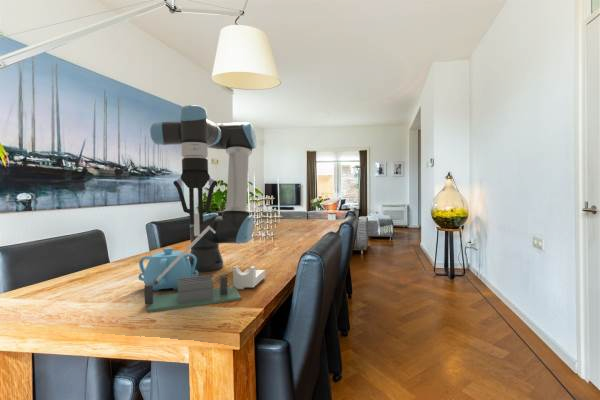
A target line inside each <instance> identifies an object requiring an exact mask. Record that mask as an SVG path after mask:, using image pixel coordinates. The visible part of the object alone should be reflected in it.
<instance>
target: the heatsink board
mask: <svg viewBox="0 0 600 400" xmlns="http://www.w3.org/2000/svg"><path fill="white" fill-rule="evenodd" d="M153 290H154V289H153V283H144V305H148V306H147V313H154V312H160V311H169V310H177V309H182V308H183V309H184V308H191V307H197V306H199V307H200V306H206V305H213V304H219V303H226V302H233V301H241V300H242V296H241V294H240V292H239V291H238V289H236V287H235V286H234V285H232V286H228V276H227V275H226V274H222V275H219V287H217V288H214V280H213V277H212V275H211V274H206V275H198V276H197V277H187V278H178V289H177V292H176V293H174V292H173V293H168V294H161V295H154V291H153Z"/></svg>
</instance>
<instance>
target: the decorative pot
mask: <svg viewBox="0 0 600 400" xmlns="http://www.w3.org/2000/svg"><path fill="white" fill-rule="evenodd" d="M183 251H184V250H183ZM183 251H182V250H181V251H180V250H174V248H173V247H165V248H163V249H162V251H160V252H159V251H158V252H156V253H153V254H152V255H144V256H143V257H141V258H140V259H139V262H138V263H139V264H138V265H139V266H138V267H139V269H140V271H141V272H140V273H138V274H139V275H138V279H139V280H140V281H142V282H143V283H144V284H145V283H153V282H154V279H155V278H157V277H158V276H159V275H160V274H161V273H162V272H163V271H164V270H165V269H166V268H167V267H168V266H169V265H170V264H171V263H172V262H173V261H174V260H175V259H176V258H177V257H178V256H179V255H180V254H181V253H182V252H183ZM189 257H192V258H193V259H194V263H193V266H192V268H191V264H190V261H189ZM146 259H148V262H147V265H146V267H144V260H146ZM196 263H197V258H196V256H195V255H193V254H190V253H186V254H185V255H184V256H183V257H182V258H181V259H180V260H179V261H178V262H177V263H176V264H175V265H174V266H173V267H172V268H171V269H170V270H169V271H168V272H167V273H166V274H165V275H164V276H163V277H162V278H161V279H160V280H159V281H158V283H157V284H154V283H153V292H159V291H162V289H163V290H166V289H168V290H169V289H172V290H177V291H178V278H187V277H197V276H199V272H198V271H197V270H194V269H195V266H196ZM194 273H195V274H194ZM142 276H143V277H142Z"/></svg>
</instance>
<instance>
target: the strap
mask: <svg viewBox="0 0 600 400" xmlns="http://www.w3.org/2000/svg"><path fill="white" fill-rule="evenodd" d="M209 229H210V230H211V231H212V232H213V233H214V234H215V233H216V232H215V231H214V230H213V229H212V228H211V227H210V226H208V227H207V228H206V229H205V230H204V231H203V232H202V233H201V234H200V236H198V237H197V238H196V239H195V240H194V241H193V242H192V243H191V242H190V244H189V245H188V246H187V247H186V248H185V249H184V250H183V252H182V253H181V254H180V255H179V256H178V257H177V258H176V259H175V260H174V261H173V262H172V263H171V264H170V265H169V266H168V267H167V268H166V269H165V270H164V271H163V272H162V273H161V274H160V275H159V276H158V277H157V278H155V279H154V282H153V283H154V284H157V283H158V281H159V280H160V279H161V278H162V277H163V276H164V275H165V274H166V273H167V272H168V271H169V270H170V269H171V268H172V267H173V266H174V265H175V264H176V263H177V262H178V261H179V260H180V259H181V258H182V257H183V256H184V255H185V254H188V252H189V251H191V248H192V247H193V246H194V245H195V243H196V242H197V241H198V240H199V239H200V238H201V237H202V236H203V235H204V234H205V233H206V232H207V231H208V230H209Z"/></svg>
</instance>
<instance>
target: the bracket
mask: <svg viewBox="0 0 600 400" xmlns="http://www.w3.org/2000/svg"><path fill="white" fill-rule="evenodd" d="M239 266H240V265H234V266H233V267H232V271H233V273H232V275H233V280H232V281H233V283H232V284H233V285H232V286H235V287H236V289H237V290H244V289H246V288H255V286H257V285H258V284H259V283H260V282H262V280H263V279H265V278H266V269H256V266H255V265H252V266H251V267H250V269H245V270H244V271H242V270H241V269H240V267H239Z"/></svg>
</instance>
